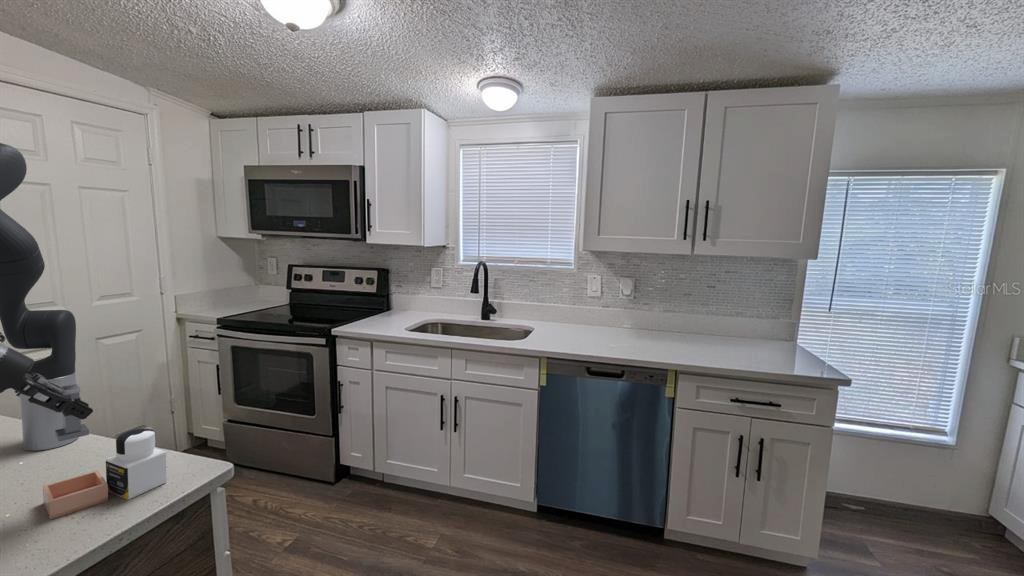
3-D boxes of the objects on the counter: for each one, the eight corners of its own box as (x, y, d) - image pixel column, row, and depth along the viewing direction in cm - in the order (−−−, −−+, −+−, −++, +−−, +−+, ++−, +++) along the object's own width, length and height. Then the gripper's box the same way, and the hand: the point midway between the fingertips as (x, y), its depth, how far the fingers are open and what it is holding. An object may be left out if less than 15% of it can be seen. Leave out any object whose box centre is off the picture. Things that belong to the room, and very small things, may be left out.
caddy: (43, 503, 82) (42, 486, 81) (98, 485, 88) (98, 469, 88) (50, 519, 77) (49, 502, 77) (108, 500, 83) (107, 483, 83)
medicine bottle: (106, 491, 86) (103, 436, 85) (146, 474, 93) (144, 422, 92) (127, 500, 84) (125, 443, 83) (167, 482, 90) (166, 429, 89)
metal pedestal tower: (55, 435, 81) (52, 387, 80) (84, 428, 84) (82, 382, 83) (58, 441, 78) (56, 392, 77) (89, 434, 82) (87, 387, 81)
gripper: (11, 353, 69) (113, 404, 80) (2, 339, 77) (96, 387, 88) (-40, 392, 65) (75, 440, 76) (-44, 373, 73) (60, 419, 85)
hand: (86, 411), depth 82 cm, fingers closed on metal pedestal tower, 3 cm apart
